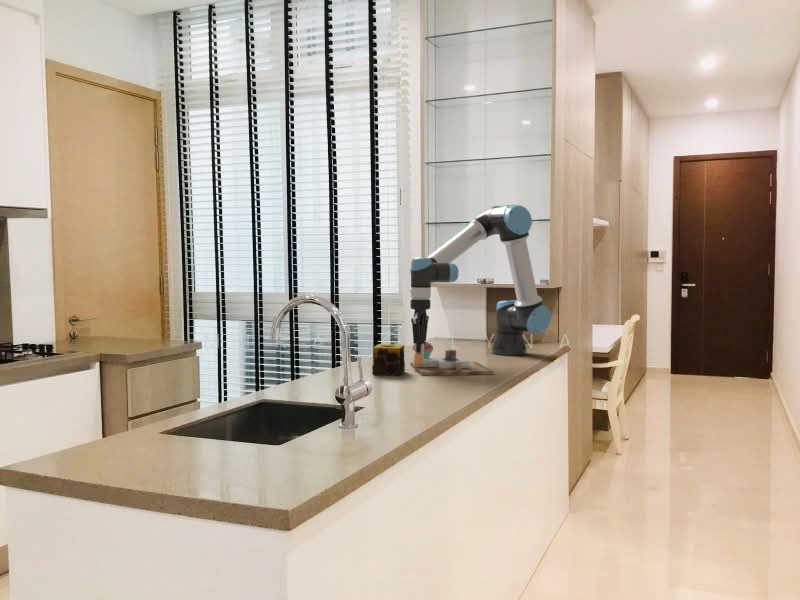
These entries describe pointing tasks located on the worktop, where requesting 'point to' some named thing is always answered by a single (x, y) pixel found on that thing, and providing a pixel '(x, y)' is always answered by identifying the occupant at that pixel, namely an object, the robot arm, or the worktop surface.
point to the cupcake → (425, 349)
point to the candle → (388, 359)
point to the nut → (437, 362)
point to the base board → (451, 356)
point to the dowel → (458, 366)
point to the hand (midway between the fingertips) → (419, 360)
